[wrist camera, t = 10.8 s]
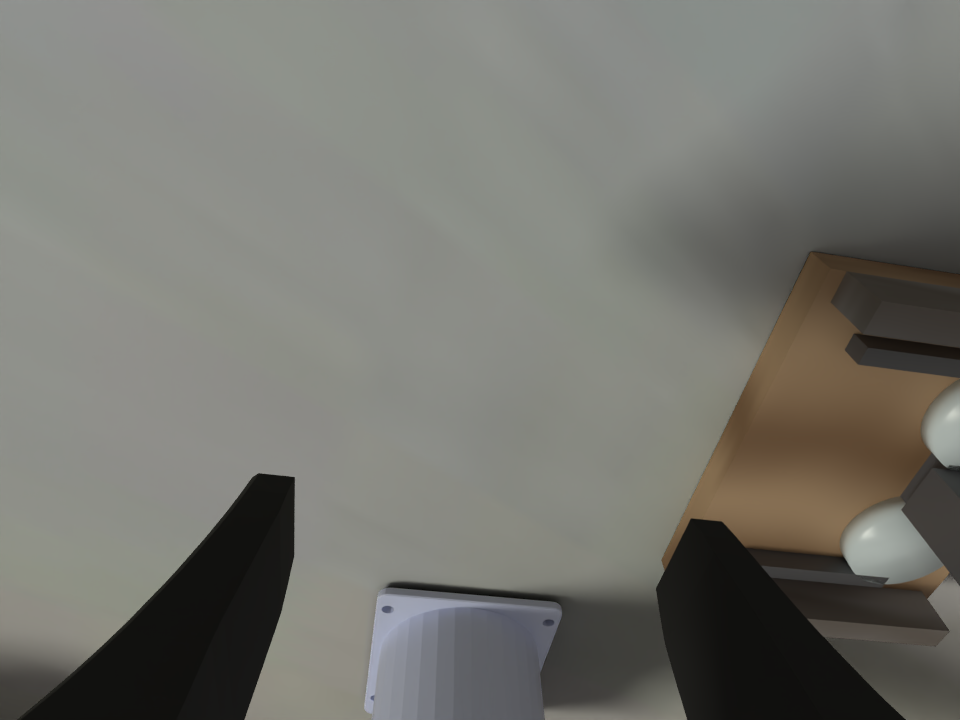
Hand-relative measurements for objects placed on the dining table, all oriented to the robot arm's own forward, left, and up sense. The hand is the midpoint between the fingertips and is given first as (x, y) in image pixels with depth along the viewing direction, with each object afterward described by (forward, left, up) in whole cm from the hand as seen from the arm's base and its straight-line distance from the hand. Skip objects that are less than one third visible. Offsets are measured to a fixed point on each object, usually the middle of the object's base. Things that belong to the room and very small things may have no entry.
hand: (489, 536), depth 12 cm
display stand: (-4, -15, -9) cm, 18 cm away
